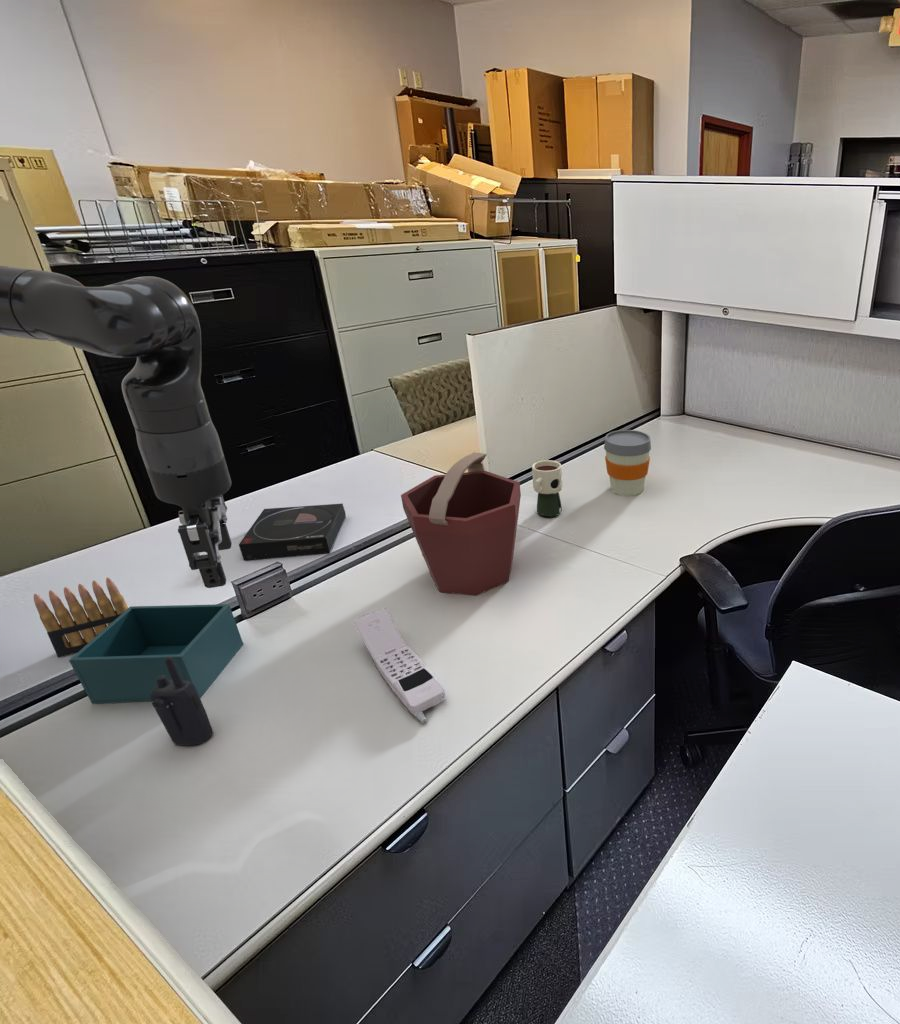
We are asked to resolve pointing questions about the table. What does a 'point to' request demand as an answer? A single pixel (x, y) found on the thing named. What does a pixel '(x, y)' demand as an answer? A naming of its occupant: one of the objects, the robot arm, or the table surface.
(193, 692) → the two-way radio
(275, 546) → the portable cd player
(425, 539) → the bucket
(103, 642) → the bin
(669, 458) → the table surface
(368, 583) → the table surface
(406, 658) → the mobile phone
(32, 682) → the table surface
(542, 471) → the character mug
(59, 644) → the ammunition clip
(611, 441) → the reusable coffee cup
